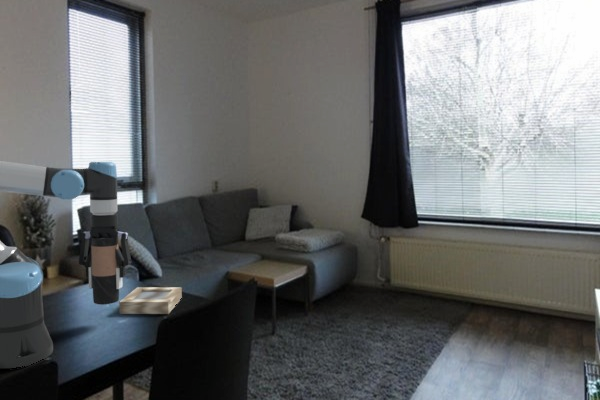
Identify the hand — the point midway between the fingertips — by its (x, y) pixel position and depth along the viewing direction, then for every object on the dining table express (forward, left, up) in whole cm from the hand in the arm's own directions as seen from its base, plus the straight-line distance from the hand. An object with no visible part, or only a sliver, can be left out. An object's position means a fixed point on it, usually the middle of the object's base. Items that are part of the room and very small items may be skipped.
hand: (106, 287), depth 135 cm
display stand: (+8, +16, -11) cm, 21 cm away
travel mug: (0, 0, -4) cm, 4 cm away
